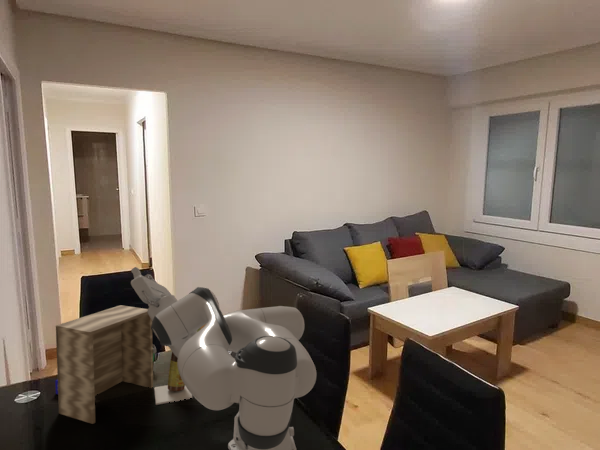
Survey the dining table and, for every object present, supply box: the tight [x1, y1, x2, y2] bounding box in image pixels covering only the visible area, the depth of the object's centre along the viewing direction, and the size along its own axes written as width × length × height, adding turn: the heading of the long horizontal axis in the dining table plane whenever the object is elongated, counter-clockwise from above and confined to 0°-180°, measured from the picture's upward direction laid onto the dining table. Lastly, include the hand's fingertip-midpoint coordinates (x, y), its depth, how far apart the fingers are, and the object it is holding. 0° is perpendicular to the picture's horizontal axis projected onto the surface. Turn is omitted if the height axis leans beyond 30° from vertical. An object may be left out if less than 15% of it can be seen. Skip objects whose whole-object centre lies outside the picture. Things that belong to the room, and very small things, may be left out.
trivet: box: [153, 384, 193, 406], centre depth 143 cm, size 12×12×1 cm
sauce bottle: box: [167, 351, 185, 391], centre depth 145 cm, size 7×6×20 cm
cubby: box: [55, 304, 154, 425], centre depth 138 cm, size 15×26×29 cm, turn 157°
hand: (140, 272), depth 123 cm, fingers open, 8 cm apart
